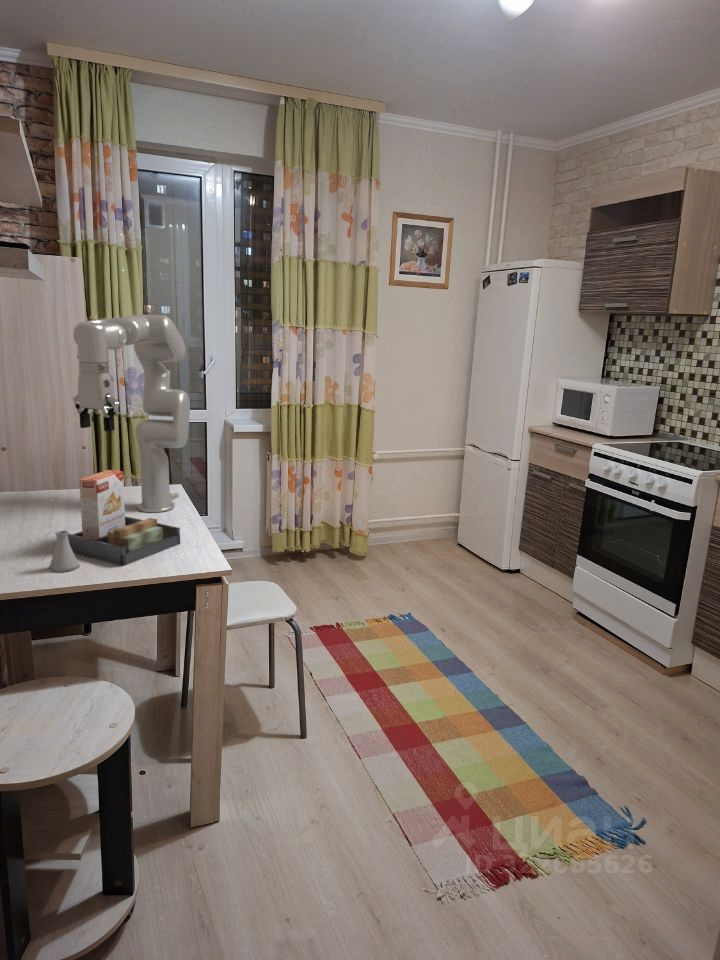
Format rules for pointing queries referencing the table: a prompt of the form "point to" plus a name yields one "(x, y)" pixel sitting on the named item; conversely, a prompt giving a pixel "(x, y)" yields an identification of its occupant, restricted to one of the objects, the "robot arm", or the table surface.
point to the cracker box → (102, 503)
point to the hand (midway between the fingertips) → (97, 429)
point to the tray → (118, 554)
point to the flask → (63, 554)
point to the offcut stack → (136, 534)
